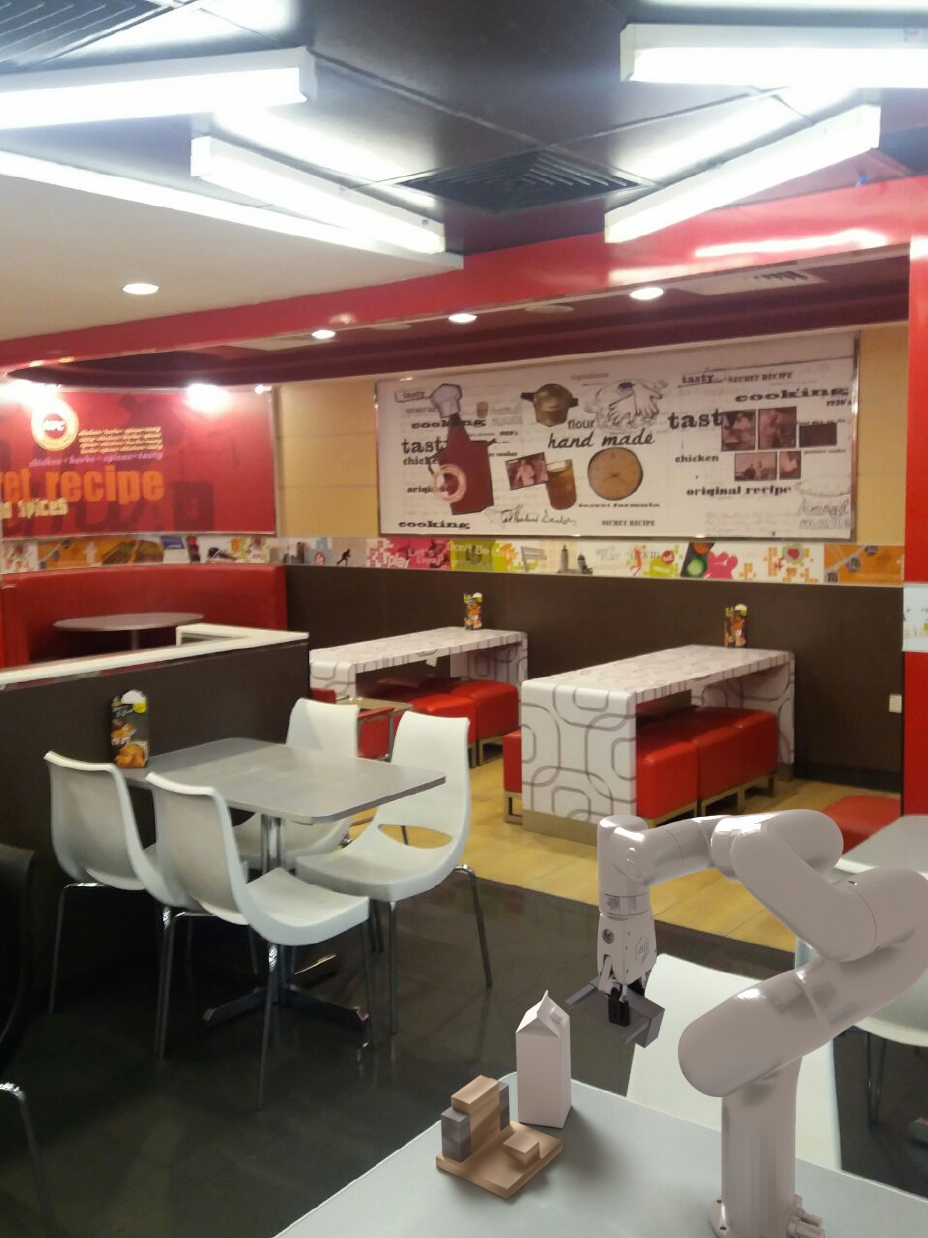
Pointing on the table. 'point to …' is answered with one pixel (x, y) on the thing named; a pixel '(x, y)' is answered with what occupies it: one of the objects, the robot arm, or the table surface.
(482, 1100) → the stacked wooden blocks
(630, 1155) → the table surface
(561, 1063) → the milk carton
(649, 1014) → the grey bracket
